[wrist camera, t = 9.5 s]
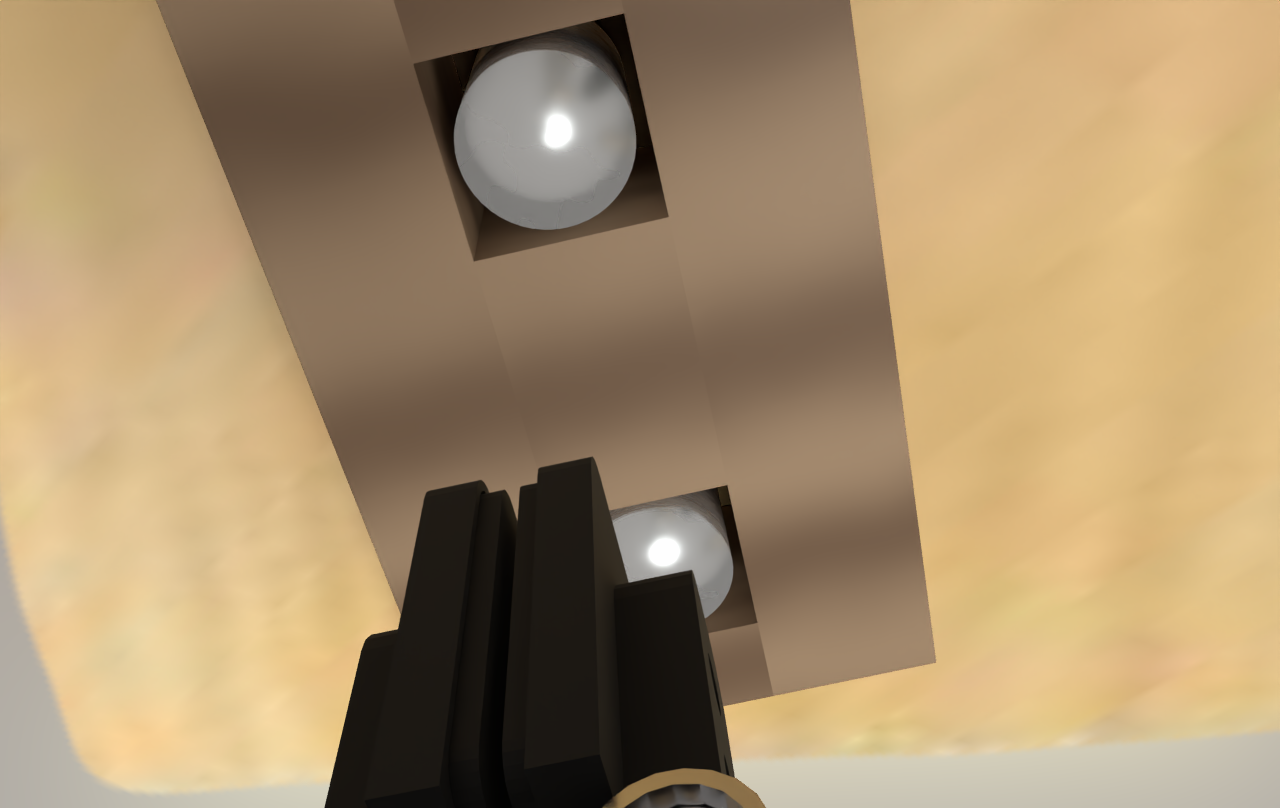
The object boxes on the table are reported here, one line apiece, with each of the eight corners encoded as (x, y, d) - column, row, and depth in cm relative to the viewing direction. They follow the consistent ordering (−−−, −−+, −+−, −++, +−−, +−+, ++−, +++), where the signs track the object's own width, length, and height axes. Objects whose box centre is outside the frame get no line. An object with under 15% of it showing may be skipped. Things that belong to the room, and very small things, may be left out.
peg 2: (567, 427, 36) (567, 529, 31) (697, 398, 36) (718, 497, 31) (598, 534, 38) (603, 646, 33) (722, 507, 37) (745, 616, 33)
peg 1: (453, 26, 30) (431, 74, 25) (606, -11, 30) (613, 31, 25) (495, 175, 32) (482, 246, 27) (640, 142, 32) (653, 208, 27)
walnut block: (225, -53, 30) (150, -15, 24) (778, -189, 29) (826, -181, 23) (473, 629, 40) (459, 760, 34) (886, 542, 39) (936, 662, 34)
